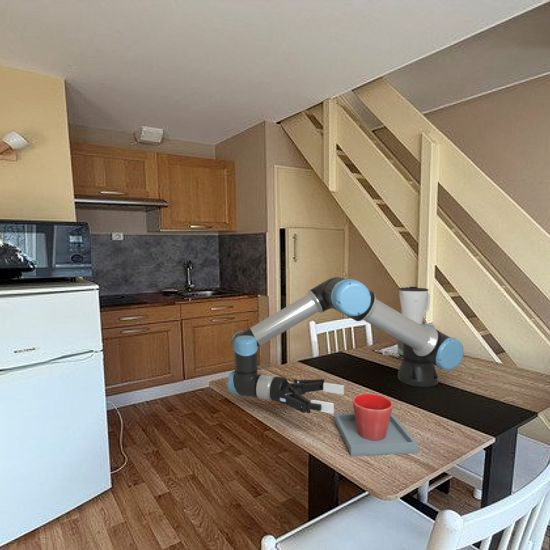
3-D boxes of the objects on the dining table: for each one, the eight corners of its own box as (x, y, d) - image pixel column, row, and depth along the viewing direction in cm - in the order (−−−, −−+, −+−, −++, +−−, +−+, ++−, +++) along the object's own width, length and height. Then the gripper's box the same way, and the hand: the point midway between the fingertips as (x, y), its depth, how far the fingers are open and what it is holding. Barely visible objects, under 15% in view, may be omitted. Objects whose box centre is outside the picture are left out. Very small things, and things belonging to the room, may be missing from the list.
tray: (390, 419, 110) (390, 411, 109) (418, 452, 92) (418, 443, 92) (334, 421, 108) (334, 414, 108) (351, 456, 91) (351, 447, 90)
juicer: (411, 364, 162) (413, 289, 159) (389, 356, 173) (390, 286, 171) (437, 357, 171) (439, 286, 168) (414, 350, 183) (416, 284, 180)
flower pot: (386, 448, 92) (386, 413, 92) (346, 436, 98) (347, 403, 98) (396, 430, 101) (396, 398, 101) (359, 421, 107) (360, 390, 107)
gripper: (287, 385, 123) (347, 394, 115) (256, 417, 100) (328, 431, 92) (287, 364, 123) (347, 372, 114) (256, 392, 100) (328, 403, 91)
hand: (339, 398), depth 103 cm, fingers open, 13 cm apart
